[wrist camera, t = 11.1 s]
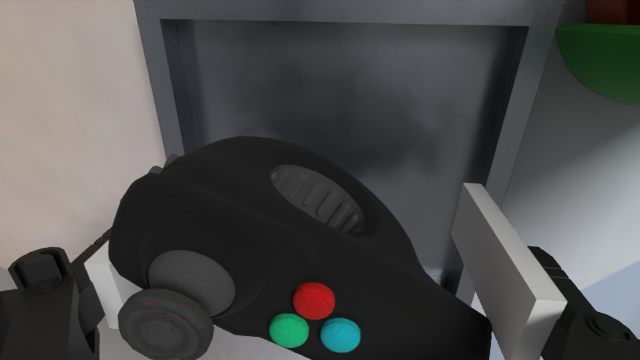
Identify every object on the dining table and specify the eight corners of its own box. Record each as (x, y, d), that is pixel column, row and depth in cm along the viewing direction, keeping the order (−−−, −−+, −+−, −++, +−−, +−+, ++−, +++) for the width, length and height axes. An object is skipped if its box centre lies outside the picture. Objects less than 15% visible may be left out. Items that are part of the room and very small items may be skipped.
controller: (234, 85, 15) (47, 202, 6) (456, 217, 17) (575, 455, 8) (199, 161, 16) (19, 337, 8) (403, 271, 18) (449, 512, 10)
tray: (162, -6, 16) (131, -9, 14) (533, -1, 15) (566, -3, 12) (210, 267, 24) (195, 294, 21) (455, 287, 22) (466, 317, 20)
